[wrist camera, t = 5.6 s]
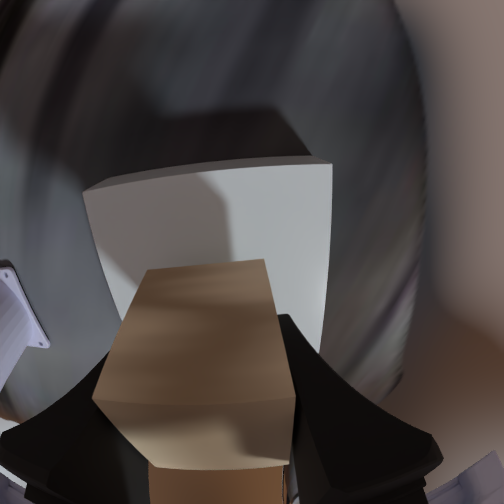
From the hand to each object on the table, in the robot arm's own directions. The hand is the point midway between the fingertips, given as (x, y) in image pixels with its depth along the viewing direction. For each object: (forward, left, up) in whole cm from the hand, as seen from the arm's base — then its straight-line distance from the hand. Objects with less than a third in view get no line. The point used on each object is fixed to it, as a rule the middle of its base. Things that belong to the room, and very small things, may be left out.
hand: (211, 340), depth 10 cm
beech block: (0, 0, -2) cm, 2 cm away
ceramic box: (0, 0, -7) cm, 7 cm away
